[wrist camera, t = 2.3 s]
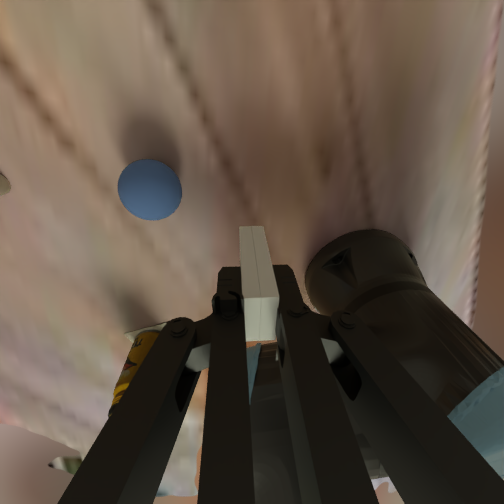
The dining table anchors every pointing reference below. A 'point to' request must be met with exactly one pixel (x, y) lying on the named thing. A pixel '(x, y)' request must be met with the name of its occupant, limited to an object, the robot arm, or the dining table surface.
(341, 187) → the dining table surface
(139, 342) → the condiment
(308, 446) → the robot arm
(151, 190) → the ball
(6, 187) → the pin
